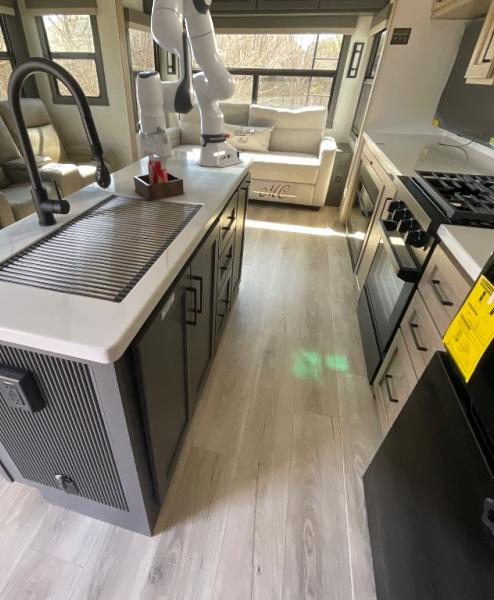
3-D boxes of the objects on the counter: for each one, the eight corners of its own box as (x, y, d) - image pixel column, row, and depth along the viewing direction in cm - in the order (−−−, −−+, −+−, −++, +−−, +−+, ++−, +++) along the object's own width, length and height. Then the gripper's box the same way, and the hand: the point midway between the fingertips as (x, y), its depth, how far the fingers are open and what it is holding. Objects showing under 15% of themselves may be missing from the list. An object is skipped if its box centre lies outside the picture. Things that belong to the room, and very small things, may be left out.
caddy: (168, 184, 139) (166, 171, 136) (183, 193, 129) (182, 179, 126) (135, 190, 133) (133, 176, 130) (149, 200, 123) (147, 185, 120)
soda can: (147, 190, 131) (143, 158, 124) (161, 186, 135) (158, 155, 128) (157, 194, 127) (153, 161, 120) (171, 190, 131) (169, 158, 124)
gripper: (174, 128, 111) (177, 170, 120) (150, 121, 126) (154, 159, 134) (157, 130, 109) (161, 173, 117) (135, 123, 123) (140, 162, 131)
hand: (157, 166), depth 126 cm, fingers open, 8 cm apart
